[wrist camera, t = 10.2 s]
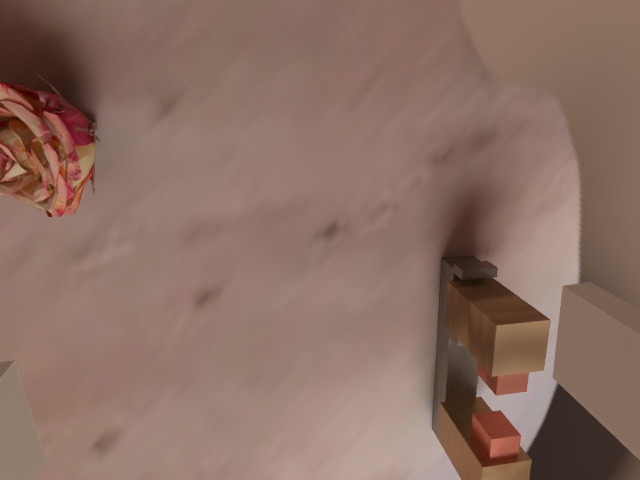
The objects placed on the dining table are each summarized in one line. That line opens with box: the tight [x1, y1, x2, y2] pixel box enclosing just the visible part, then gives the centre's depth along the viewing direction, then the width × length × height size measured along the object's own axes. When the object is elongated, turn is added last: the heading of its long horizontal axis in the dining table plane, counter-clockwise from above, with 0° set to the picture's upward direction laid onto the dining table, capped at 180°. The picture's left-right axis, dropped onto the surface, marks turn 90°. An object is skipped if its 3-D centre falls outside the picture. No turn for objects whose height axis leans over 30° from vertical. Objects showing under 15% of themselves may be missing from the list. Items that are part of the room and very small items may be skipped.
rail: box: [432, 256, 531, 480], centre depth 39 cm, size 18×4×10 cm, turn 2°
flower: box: [0, 63, 100, 218], centre depth 31 cm, size 10×9×8 cm
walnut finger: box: [445, 278, 551, 395], centre depth 37 cm, size 6×4×8 cm, turn 1°
